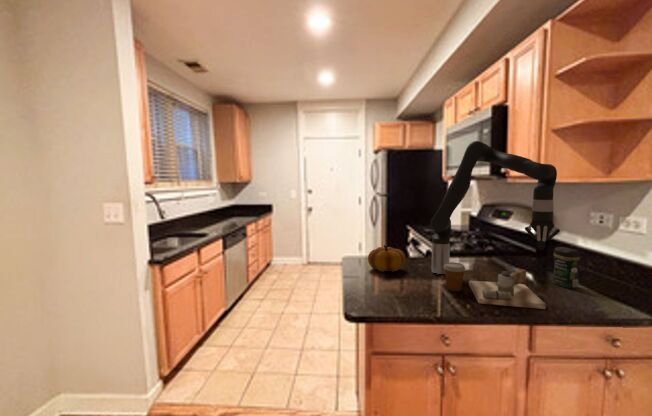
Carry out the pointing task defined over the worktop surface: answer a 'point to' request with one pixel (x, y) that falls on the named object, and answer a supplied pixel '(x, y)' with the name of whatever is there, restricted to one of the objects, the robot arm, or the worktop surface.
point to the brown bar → (510, 280)
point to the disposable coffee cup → (454, 275)
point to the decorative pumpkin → (386, 259)
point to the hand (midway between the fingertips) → (541, 249)
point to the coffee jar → (566, 267)
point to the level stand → (505, 295)
